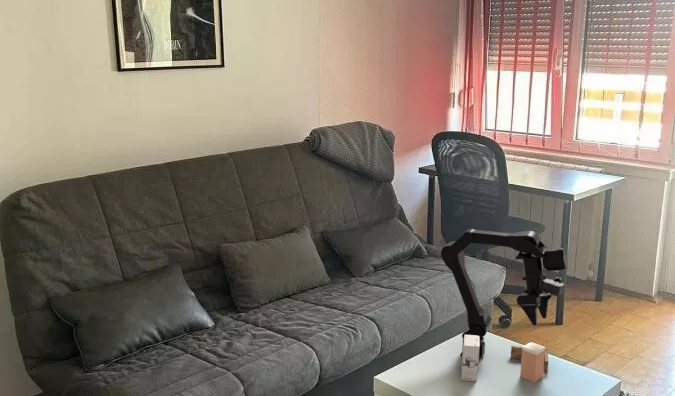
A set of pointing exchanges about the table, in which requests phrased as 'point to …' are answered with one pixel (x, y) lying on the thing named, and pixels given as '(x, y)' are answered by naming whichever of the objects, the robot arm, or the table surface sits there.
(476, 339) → the ink box
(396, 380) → the table surface
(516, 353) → the walnut corner walls
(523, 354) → the pink tall block
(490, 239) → the robot arm
